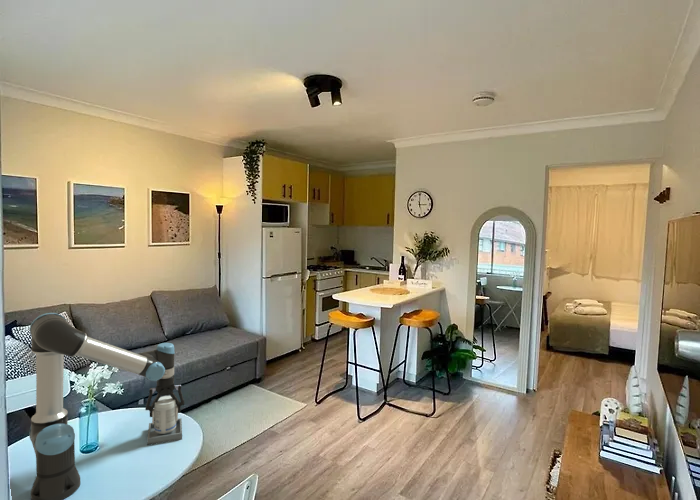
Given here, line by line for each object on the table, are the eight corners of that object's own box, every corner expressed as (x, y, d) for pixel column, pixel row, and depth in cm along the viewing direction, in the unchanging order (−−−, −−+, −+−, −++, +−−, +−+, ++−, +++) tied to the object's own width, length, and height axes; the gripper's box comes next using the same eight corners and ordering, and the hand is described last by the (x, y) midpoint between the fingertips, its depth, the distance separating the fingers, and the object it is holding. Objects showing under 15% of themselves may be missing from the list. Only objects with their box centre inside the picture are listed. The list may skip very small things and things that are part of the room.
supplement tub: (176, 423, 197) (177, 394, 196) (175, 433, 188) (176, 403, 187) (155, 425, 193) (155, 396, 192) (152, 436, 185) (153, 405, 183)
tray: (147, 445, 181) (147, 438, 181) (149, 429, 195) (149, 423, 194) (182, 439, 187) (182, 433, 187) (181, 423, 201) (181, 418, 200)
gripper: (138, 382, 181) (138, 429, 182) (191, 376, 190) (190, 421, 192) (139, 375, 187) (139, 421, 189) (190, 370, 197) (189, 413, 198)
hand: (165, 421), depth 190 cm, fingers closed on supplement tub, 9 cm apart
